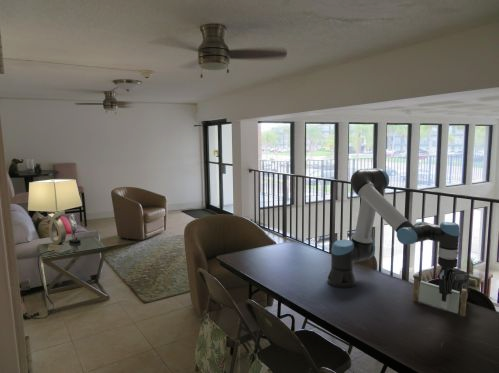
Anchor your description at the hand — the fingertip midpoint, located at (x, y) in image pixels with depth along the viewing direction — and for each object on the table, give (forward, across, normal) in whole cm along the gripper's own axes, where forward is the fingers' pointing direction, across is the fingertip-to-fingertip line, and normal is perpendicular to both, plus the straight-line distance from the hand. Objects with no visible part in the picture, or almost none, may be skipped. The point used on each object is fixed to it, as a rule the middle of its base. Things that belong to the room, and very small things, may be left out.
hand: (444, 307), depth 158 cm
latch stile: (+4, +6, -5) cm, 9 cm away
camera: (+4, +19, +3) cm, 20 cm away
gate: (+3, +4, +5) cm, 7 cm away
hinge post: (+4, +4, +15) cm, 16 cm away
